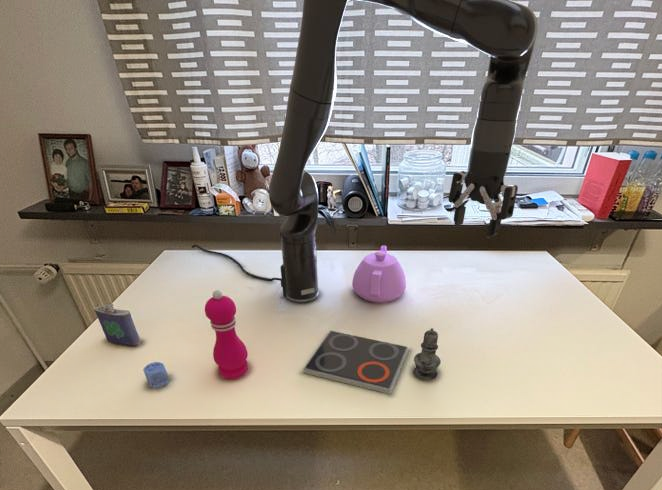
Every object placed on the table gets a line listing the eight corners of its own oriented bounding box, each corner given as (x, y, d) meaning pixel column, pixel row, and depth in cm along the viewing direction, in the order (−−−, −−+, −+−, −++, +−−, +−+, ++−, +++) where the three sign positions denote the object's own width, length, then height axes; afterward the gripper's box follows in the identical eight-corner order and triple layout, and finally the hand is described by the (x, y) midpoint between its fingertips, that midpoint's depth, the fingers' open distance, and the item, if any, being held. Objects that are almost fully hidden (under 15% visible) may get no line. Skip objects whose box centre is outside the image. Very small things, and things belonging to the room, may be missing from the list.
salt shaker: (438, 383, 89) (446, 337, 81) (410, 379, 90) (416, 334, 82) (439, 366, 93) (447, 322, 86) (413, 362, 94) (418, 318, 87)
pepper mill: (221, 384, 88) (201, 303, 75) (214, 365, 93) (193, 287, 80) (254, 374, 90) (240, 295, 78) (245, 356, 95) (230, 279, 83)
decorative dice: (170, 383, 88) (165, 369, 85) (151, 390, 86) (145, 376, 83) (166, 373, 90) (161, 359, 88) (147, 380, 89) (141, 365, 86)
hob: (303, 373, 91) (303, 367, 90) (330, 334, 103) (330, 329, 102) (390, 394, 86) (390, 388, 85) (408, 351, 98) (408, 345, 97)
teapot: (402, 313, 111) (406, 272, 103) (346, 308, 113) (346, 267, 105) (407, 276, 128) (411, 239, 120) (358, 272, 130) (358, 235, 122)
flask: (143, 341, 100) (129, 303, 93) (135, 348, 97) (120, 310, 91) (112, 335, 101) (95, 298, 95) (103, 342, 99) (85, 304, 93)
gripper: (448, 142, 79) (437, 224, 89) (512, 155, 70) (491, 245, 80) (473, 137, 83) (459, 217, 93) (536, 150, 74) (513, 236, 84)
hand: (474, 230), depth 87 cm, fingers open, 8 cm apart
